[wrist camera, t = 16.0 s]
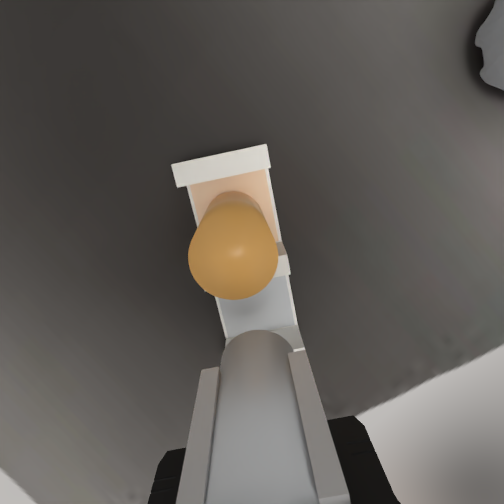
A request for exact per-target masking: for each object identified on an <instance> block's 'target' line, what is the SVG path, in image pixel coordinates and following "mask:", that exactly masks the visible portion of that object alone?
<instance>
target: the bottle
mask: <svg viewBox="0 0 504 504" xmlns="http://www.w3.org/2000/svg"><path fill="white" fill-rule="evenodd" d="M475 45H476V46H477V47H481V48H482V52H483V58H484V67H483V68H482V69H481V71H480V76H481V78H482V79H483V80H484V82H485V83H487V84H489V85H492V86H494V87H497V88H500V89H502V90H503V91H504V0H495V3H494V7H493V9H492V11H491V12H490V14H489V16H488V17H487V19H486V20H485V22H484V23H483V24H482V25H481V26H480V28H479V30H478V32H477V33H476V39H475Z"/></svg>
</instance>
